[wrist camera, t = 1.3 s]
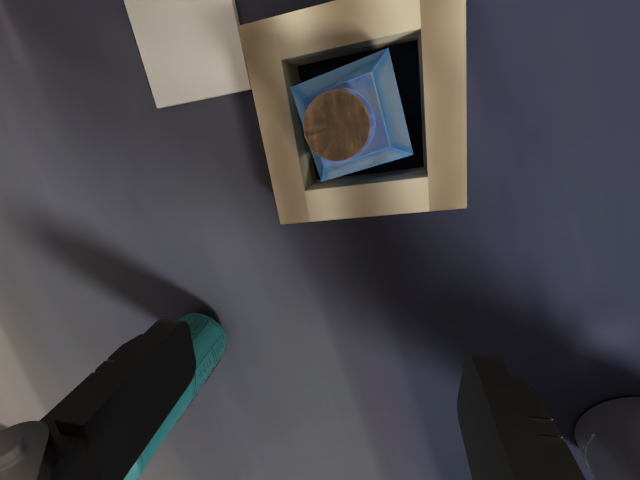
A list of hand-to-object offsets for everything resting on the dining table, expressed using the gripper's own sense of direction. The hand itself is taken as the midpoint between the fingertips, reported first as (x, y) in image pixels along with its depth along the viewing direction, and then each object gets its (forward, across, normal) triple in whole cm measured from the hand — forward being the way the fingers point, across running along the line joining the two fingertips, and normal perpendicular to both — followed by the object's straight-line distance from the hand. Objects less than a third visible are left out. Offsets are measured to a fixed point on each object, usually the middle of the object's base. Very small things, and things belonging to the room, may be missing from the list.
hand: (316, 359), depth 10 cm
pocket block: (+21, 0, -6) cm, 21 cm away
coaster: (+21, +14, -12) cm, 28 cm away
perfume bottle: (+21, 0, -6) cm, 22 cm away
